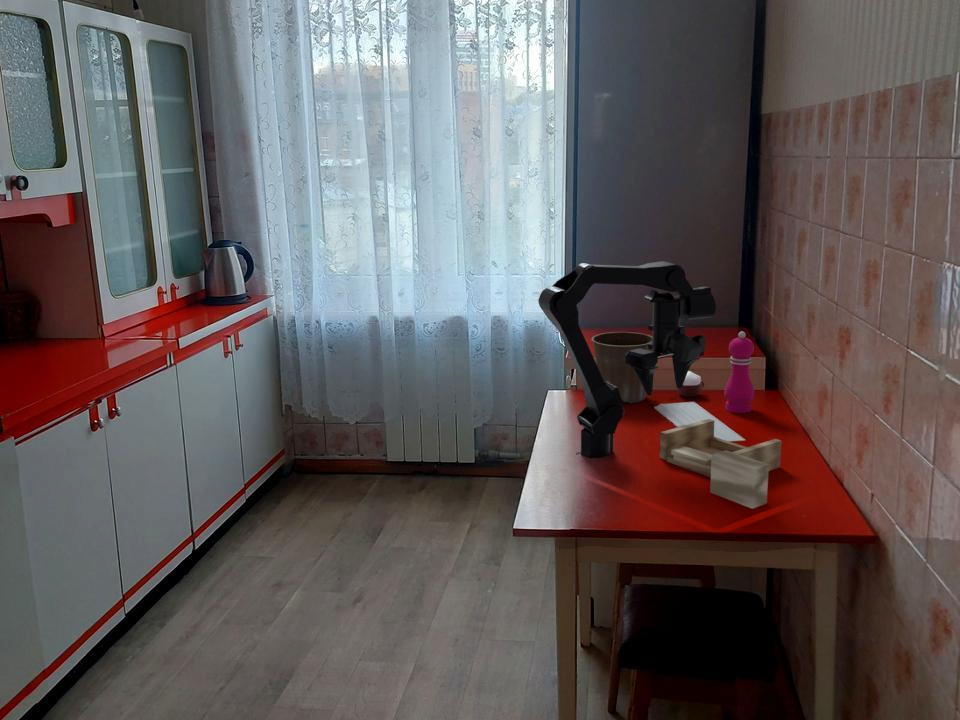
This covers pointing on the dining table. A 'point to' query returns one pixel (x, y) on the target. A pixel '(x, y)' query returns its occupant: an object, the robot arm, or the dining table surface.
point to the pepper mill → (740, 376)
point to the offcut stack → (691, 460)
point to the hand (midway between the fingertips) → (664, 391)
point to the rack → (716, 443)
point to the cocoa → (691, 385)
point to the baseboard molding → (695, 418)
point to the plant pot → (620, 362)
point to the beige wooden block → (739, 479)
